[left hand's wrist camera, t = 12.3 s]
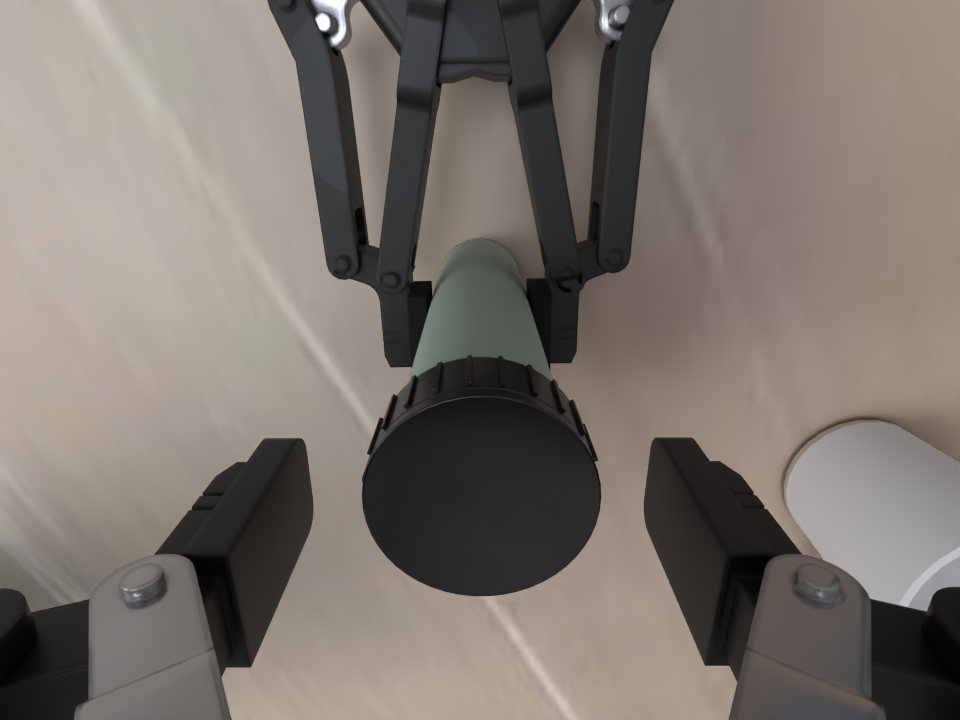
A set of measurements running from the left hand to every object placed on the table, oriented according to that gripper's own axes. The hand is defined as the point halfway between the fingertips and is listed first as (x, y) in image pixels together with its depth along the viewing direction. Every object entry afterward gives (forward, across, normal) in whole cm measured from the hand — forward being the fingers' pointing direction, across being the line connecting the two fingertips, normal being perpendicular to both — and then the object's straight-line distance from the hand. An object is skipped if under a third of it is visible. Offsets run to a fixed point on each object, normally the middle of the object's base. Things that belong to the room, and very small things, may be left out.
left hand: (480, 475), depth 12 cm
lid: (-1, 0, 0) cm, 1 cm away
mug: (+19, +22, -13) cm, 31 cm away
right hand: (+12, 0, -6) cm, 13 cm away
